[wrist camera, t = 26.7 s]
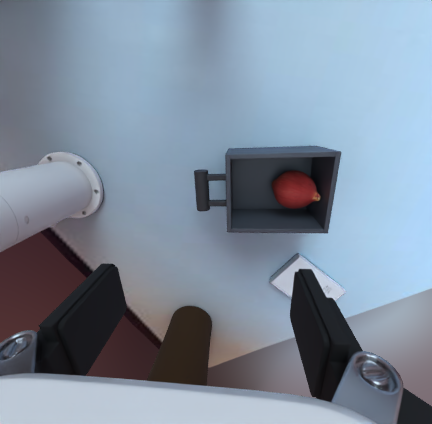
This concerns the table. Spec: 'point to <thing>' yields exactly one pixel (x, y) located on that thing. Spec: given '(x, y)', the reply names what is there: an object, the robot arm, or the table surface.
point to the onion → (295, 189)
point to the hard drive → (286, 274)
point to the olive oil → (184, 349)
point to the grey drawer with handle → (263, 193)
